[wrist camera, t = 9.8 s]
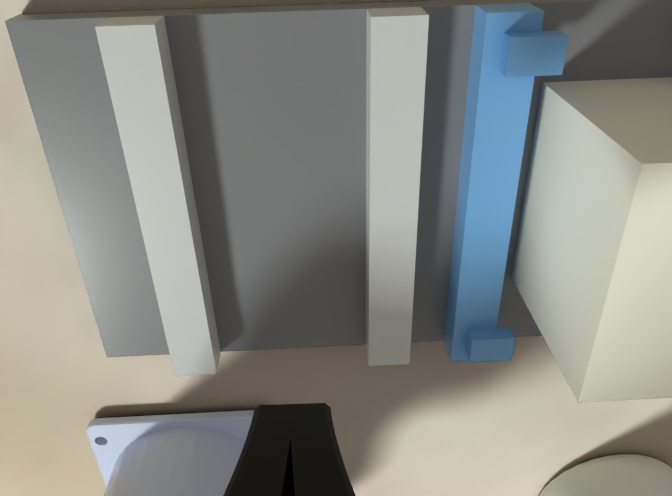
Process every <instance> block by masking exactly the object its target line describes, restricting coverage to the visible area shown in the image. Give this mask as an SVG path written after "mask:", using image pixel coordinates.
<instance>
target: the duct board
mask: <svg viewBox="0 0 672 496" xmlns="http://www.w3.org/2000/svg"><path fill="white" fill-rule="evenodd" d="M5 23H6V26H7V29H8V33H9V36H10V39H11V43H12V46H13V49H14V52H15V56H16V59H17V62H18V66H19V69H20V72H21V76H22V79H23V82H24V85H25V89H26V92H27V95H28V99H29V102H30V105H31V108H32V112H33V115H34V118H35V122H36V125H37V128H38V131H39V135H40V138H41V141H42V145H43V148H44V151H45V155H46V158H47V161H48V164H49V168H50V171H51V174H52V178H53V181H54V184H55V187H56V191H57V194H58V197H59V201H60V204H61V207H62V211H63V214H64V217H65V220H66V224H67V227H68V230H69V234H70V237H71V240H72V243H73V247H74V250H75V253H76V257H77V260H78V263H79V267H80V270H81V273H82V276H83V280H84V283H85V286H86V290H87V293H88V296H89V299H90V303H91V306H92V309H93V313H94V316H95V319H96V322H97V326H98V329H99V332H100V336H101V339H102V342H103V346H104V349H105V352H106V355H107V357H123V356H143V355H163V354H170V358H171V362H172V366H173V371H174V375H175V376H187V375H207V374H217V369H218V363H219V358H220V352H222V351H242V350H262V349H282V348H302V347H322V346H341V345H361V344H366V351H367V358H368V365H369V366H382V365H401V364H410V350H411V342H421V341H441V340H444V342H445V345H446V349H447V352H448V355H449V358H450V361H451V362H460V361H469V362H486V361H505V360H512V356H513V350H514V345H515V339H516V338H515V337H520V336H540V335H542V334H541V332H540V330H539V328H538V326H537V324H536V323H535V321H534V319H533V317H532V315H531V313H530V311H529V309H528V308H527V306H526V304H525V302H524V300H523V298H522V296H521V294H520V293H519V291H518V289H517V287H516V285H515V283H514V281H513V279H512V271H513V265H514V259H515V252H516V246H517V240H518V234H519V228H520V221H521V215H522V209H523V203H524V196H525V190H526V184H527V178H528V171H529V165H530V159H531V153H532V146H533V140H534V134H535V128H536V121H537V115H538V109H539V103H540V97H541V90H542V84H543V82H565V81H591V80H617V79H643V78H669V77H672V0H423V1H394V2H365V3H336V4H306V5H277V6H248V7H219V8H189V9H160V10H131V11H102V12H72V13H43V14H20V15H18V16H15V17H13V18H11V19H9V20H7V21H5Z"/></svg>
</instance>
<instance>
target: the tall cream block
mask: <svg viewBox="0 0 672 496" xmlns="http://www.w3.org/2000/svg"><path fill="white" fill-rule="evenodd" d="M512 279H513V281H514V283H515V285H516V287H517V289H518V291H519V293H520V294H521V296H522V298H523V300H524V302H525V304H526V306H527V308H528V309H529V311H530V313H531V315H532V317H533V319H534V321H535V323H536V324H537V326H538V328H539V330H540V332H541V334H542V336H543V338H544V339H545V341H546V343H547V345H548V347H549V349H550V351H551V353H552V355H553V356H554V358H555V360H556V362H557V364H558V366H559V368H560V370H561V371H562V373H563V375H564V377H565V379H566V381H567V383H568V385H569V386H570V388H571V390H572V392H573V394H574V396H575V398H576V400H577V401H578V403H581V402H600V401H618V400H637V399H655V398H672V77H669V78H643V79H617V80H591V81H565V82H543V84H542V90H541V97H540V103H539V109H538V115H537V121H536V128H535V134H534V140H533V146H532V153H531V159H530V165H529V171H528V178H527V184H526V190H525V196H524V203H523V209H522V215H521V221H520V228H519V234H518V240H517V246H516V252H515V259H514V265H513V271H512Z"/></svg>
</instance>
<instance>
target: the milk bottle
mask: <svg viewBox="0 0 672 496" xmlns="http://www.w3.org/2000/svg"><path fill="white" fill-rule="evenodd" d="M539 496H672V468H671V467H670V466H668V465H667V464H665V463H664V462H662V461H660V460H658V459H655V458H652V457H649V456H642V455H637V454H619V455H612V456H605V457H601V458H597V459H592V460H589V461H587V462H584V463H582V464H579V465H576V466H574V467H572V468H571V469H569V470H567V471H565V472H563V473H562V474H560V475H559V476H558V477H556V478H555V479H553V480H552V481H551V482H550V483H549V484H548V485H547V486H546V487H545V488H544V489H543V490H542V492H541V493H540V495H539Z"/></svg>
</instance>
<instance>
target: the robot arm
mask: <svg viewBox="0 0 672 496" xmlns="http://www.w3.org/2000/svg"><path fill="white" fill-rule="evenodd" d="M86 431H87V435H88V438H89V441H90V444H91V446H92V449H93V452H94V455H95V457H96V460H97V463H98V466H99V469H100V471H101V474H102V477H103V480H104V482H105V485H106V491H105V494H104V496H355V493H354V491H353V488H352V486H351V483H350V480H349V478H348V475H347V472H346V469H345V466H344V463H343V460H342V457H341V453H340V450H339V447H338V443H337V440H336V436H335V432H334V427H333V422H332V416H331V408H330V407H329V406H328V405H326V404H325V403H315V404H285V405H260V406H259V407H257V408H256V409H255V410H245V411H227V412H208V413H189V414H170V415H151V416H133V417H114V418H97V419H93V420H92V421H90V423H89V424H88V427H87V429H86ZM102 437H104V438H102Z"/></svg>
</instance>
